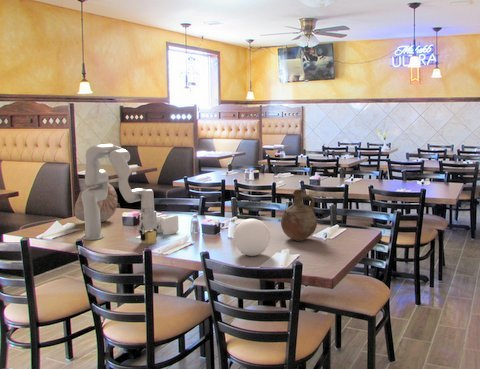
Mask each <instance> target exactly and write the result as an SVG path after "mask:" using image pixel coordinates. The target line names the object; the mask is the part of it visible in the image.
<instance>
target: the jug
mask: <svg viewBox="0 0 480 369" xmlns="http://www.w3.org/2000/svg"><path fill="white" fill-rule="evenodd" d="M292 194H293V197H294V199H293V203H292V204H291V205H290V206H288V207H287V208H285V210H284V211H283V213H282V215H281V216H282V217H281V219H280V226H281V229H282V231H283V233H284V234H285V236H286V237H288V238H289V239H290V240H291V239H292V240H291V241H293V240H298V241H297V242H300V241H299V240H304V241H306V240H307V239H308V238H309V237H311V236H312V235H313V234H314V233H315V231H316V229H317V226H318V221H317V217H316V214H315V212H314V210H313V209H314V206H315V198H314V197H313V196H312V195H311V194H307V190H305V189H295V190H294V191H293V193H292ZM305 198H306V199H309V200H310V203H309V204H308V205H306V204H304V199H305ZM305 239H306V240H305Z"/></svg>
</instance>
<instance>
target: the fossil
mask: <svg viewBox="0 0 480 369" xmlns="http://www.w3.org/2000/svg"><path fill="white" fill-rule="evenodd" d="M92 187H95V186H88V185H86V186H85V187H84V188H82V190H81V191H80V192H79V194H78V197H77V199H76V201H75V203H74V217H75V218H76V219H77V220H80V221H82V222H85V219H84V206H83V202H82V197H81V195H82V192H83V191H84V190H85V189H88V188H92ZM118 203H119V202H118V194H117V192H116V189H115V188H114V186H113V185H111V184H110V182H108V194H107V197H106V199H104V200H102V201H99V202H97V204H98V206H99V208H100V222H101V223H103V222H106V221H108V220H109V219H111V218H112V216H114V214H115V213H116V210H117V207H118Z"/></svg>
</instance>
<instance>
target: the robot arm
mask: <svg viewBox="0 0 480 369" xmlns="http://www.w3.org/2000/svg"><path fill="white" fill-rule="evenodd" d="M100 159H101V160H102V159H109V162H110V164H111V166H112V168H113V170H114V172H115V174H116V175H117V177H118V188H119V192H120V194H121V196H122V198H123V199H124V201H126V202H127V203H128V204H129V203H130V204H132V203H136V202H140V217H139V225H138V226H136V229H137V232H138V233H139V234H140V235H139V236H141V240H143V241H145V234H144V233H145V231H146V230H152V229H153V231H156V237H157V236H158V233H157V230H158V228H159V224H160V222H157V214H156V211H155V198H154V190H153V189H151V188H149V189H147V188H141V187H140V188H139V187H137V188H133V189H132V188H131V186H130V184H129V177H130V175H132V169H131V167H130V166H129V164H128V163H129V161H130V160H131V154H130V152H129V151H128V150H126V149H125V148H122V147H120V146H117V145H115V144H112V143H102V144H101V143H100V144H94V145H91V146H90V147H88V148H87V150H86V151H85V172H84V183H85V185H86V186H95V187H92V188H88V189H85V190H84V191H83V192H82V195H81V197H82V202H83V206H84V219H85V221H84V230H83V231H82V233H83V234H84V235H82V239H83V240H86V241H94V240H101V239H103V238H104V236H105V235H104V234H103V233H102V222H100V208H99V206H98V204H97V202H99V201H102V200H104V199H106V197H107V194H108V183H109V178H110V177H109V174H108V172H107V171H106V170H104V169H101V162H100ZM142 231H143V232H142Z"/></svg>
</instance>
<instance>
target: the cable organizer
mask: <svg viewBox="0 0 480 369" xmlns="http://www.w3.org/2000/svg"><path fill="white" fill-rule="evenodd" d="M156 217H157V222H160V224H159V228H158V230H157V234H161V233H162V235H164V236H166V235H174V234H177V233H178V232H179V216H178V215H175V214H174V215H170V216H169V215H168V214H165V213H164V214H161V215H156ZM151 230H152V231H153V229H151Z"/></svg>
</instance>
